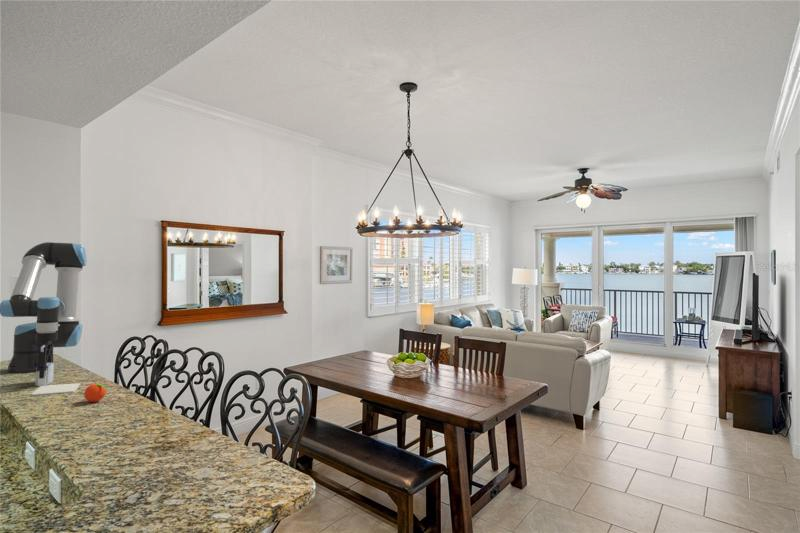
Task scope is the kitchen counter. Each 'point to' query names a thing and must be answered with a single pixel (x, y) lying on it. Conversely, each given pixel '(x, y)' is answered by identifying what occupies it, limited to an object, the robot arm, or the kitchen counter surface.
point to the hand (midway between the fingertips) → (44, 383)
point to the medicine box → (49, 374)
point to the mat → (56, 389)
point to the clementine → (95, 392)
